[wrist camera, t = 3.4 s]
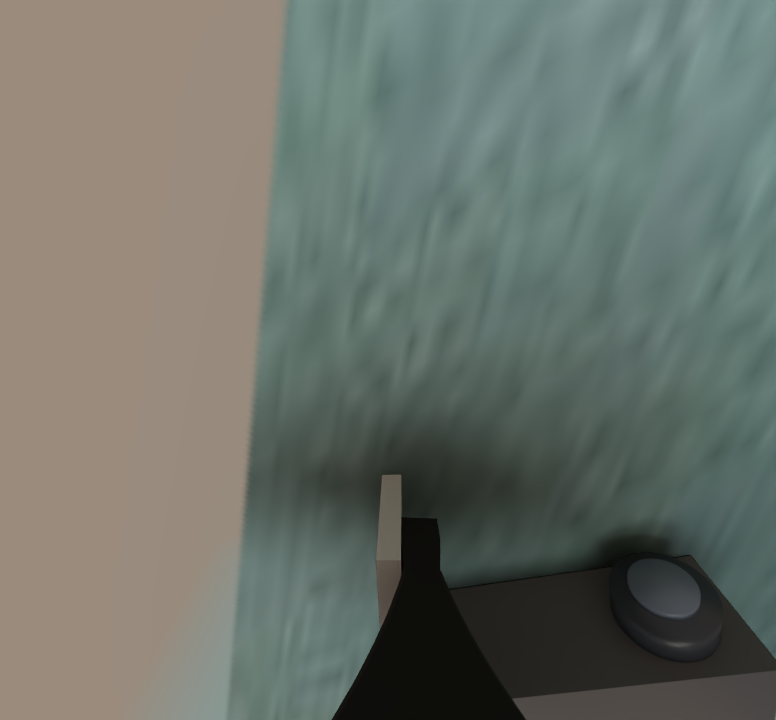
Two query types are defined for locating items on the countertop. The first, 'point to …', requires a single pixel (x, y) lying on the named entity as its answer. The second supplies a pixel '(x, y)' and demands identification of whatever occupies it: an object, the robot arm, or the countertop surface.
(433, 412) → the countertop surface
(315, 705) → the countertop surface
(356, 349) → the countertop surface
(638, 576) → the camera body
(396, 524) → the door
